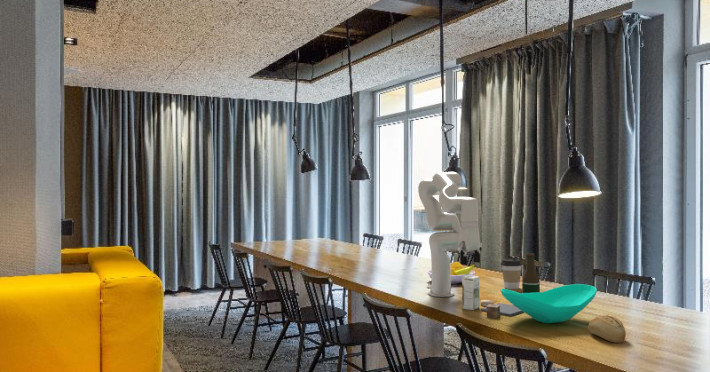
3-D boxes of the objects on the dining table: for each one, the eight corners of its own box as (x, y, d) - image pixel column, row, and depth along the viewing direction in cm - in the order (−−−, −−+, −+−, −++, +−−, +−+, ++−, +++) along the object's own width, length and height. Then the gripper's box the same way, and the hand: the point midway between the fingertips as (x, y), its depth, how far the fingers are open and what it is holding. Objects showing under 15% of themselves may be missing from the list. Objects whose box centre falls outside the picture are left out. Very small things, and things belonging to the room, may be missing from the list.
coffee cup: (525, 289, 290) (525, 261, 290) (503, 290, 290) (503, 261, 290) (519, 285, 301) (519, 258, 301) (498, 286, 302) (498, 258, 302)
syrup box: (468, 306, 254) (467, 274, 254) (480, 308, 250) (479, 276, 250) (462, 309, 250) (461, 276, 250) (474, 310, 246) (473, 277, 246)
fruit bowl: (418, 280, 323) (418, 261, 323) (457, 276, 335) (457, 257, 335) (446, 288, 298) (446, 267, 298) (487, 283, 309) (486, 263, 309)
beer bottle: (528, 308, 247) (527, 254, 247) (518, 305, 255) (518, 252, 255) (543, 307, 249) (542, 254, 249) (533, 304, 257) (532, 252, 257)
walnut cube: (486, 317, 235) (486, 306, 235) (489, 314, 239) (489, 304, 238) (497, 318, 232) (497, 307, 232) (499, 315, 236) (499, 305, 236)
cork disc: (477, 305, 257) (477, 301, 257) (485, 303, 261) (485, 299, 261) (489, 307, 252) (488, 303, 252) (496, 305, 256) (496, 301, 256)
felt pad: (480, 310, 246) (480, 308, 246) (499, 305, 256) (499, 303, 256) (510, 316, 234) (510, 314, 234) (529, 310, 244) (529, 308, 244)
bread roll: (603, 332, 209) (602, 310, 209) (634, 342, 194) (633, 320, 194) (581, 334, 206) (581, 313, 206) (611, 345, 191) (611, 322, 191)
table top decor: (521, 333, 208) (520, 298, 208) (488, 316, 235) (487, 285, 235) (615, 326, 216) (614, 292, 216) (572, 310, 243) (572, 280, 243)
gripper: (474, 223, 258) (474, 260, 258) (451, 226, 247) (451, 264, 247) (488, 224, 253) (488, 262, 253) (464, 227, 241) (465, 266, 241)
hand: (470, 263), depth 250 cm, fingers open, 9 cm apart
